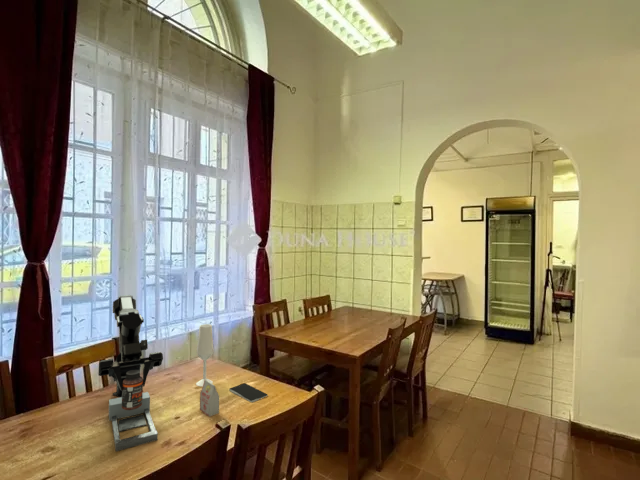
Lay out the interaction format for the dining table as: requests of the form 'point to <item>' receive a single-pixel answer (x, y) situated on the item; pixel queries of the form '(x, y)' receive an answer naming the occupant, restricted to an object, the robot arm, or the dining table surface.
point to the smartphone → (248, 392)
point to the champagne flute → (205, 348)
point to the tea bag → (209, 399)
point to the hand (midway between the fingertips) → (133, 388)
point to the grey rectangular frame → (131, 424)
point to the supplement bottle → (132, 390)
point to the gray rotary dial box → (119, 412)
